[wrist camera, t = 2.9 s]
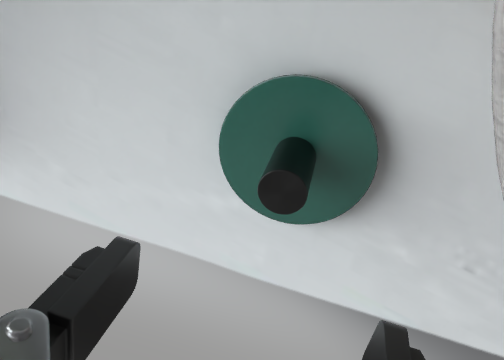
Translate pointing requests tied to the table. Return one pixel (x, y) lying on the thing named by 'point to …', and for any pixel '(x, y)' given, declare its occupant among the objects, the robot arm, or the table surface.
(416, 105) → the table surface
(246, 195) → the lid
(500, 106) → the lamp
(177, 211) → the table surface
